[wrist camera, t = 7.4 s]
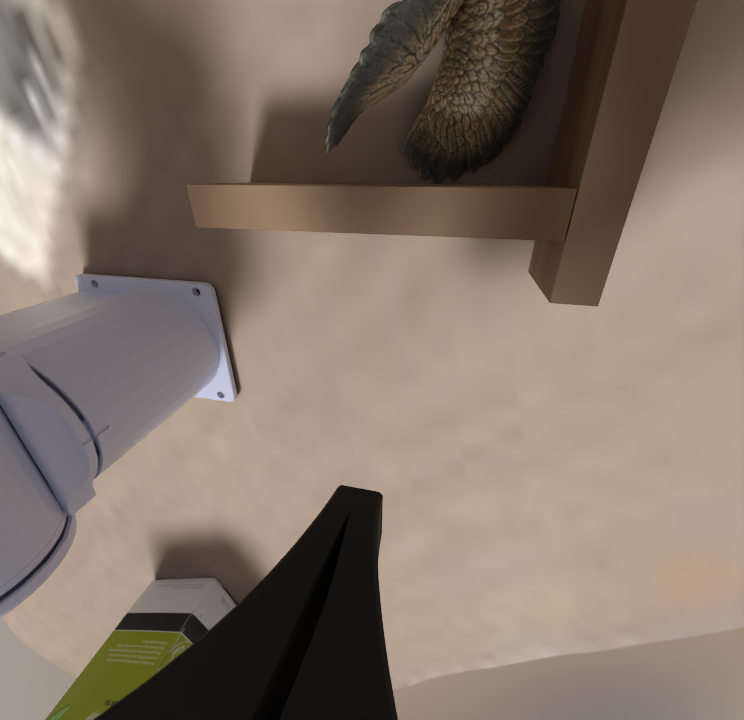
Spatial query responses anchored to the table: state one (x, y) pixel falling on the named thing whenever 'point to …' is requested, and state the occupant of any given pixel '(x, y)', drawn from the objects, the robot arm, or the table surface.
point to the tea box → (145, 643)
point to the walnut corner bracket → (515, 202)
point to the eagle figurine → (453, 77)
